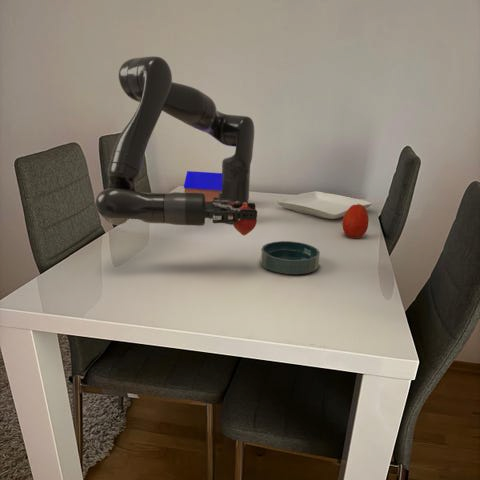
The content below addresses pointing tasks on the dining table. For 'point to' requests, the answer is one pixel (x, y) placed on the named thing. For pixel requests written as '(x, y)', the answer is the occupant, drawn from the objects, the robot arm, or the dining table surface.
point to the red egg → (355, 221)
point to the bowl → (290, 257)
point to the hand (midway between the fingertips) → (255, 211)
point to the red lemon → (245, 223)
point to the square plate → (321, 204)
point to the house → (204, 184)
